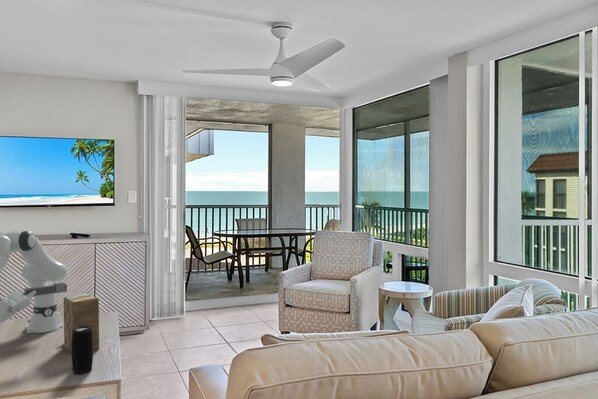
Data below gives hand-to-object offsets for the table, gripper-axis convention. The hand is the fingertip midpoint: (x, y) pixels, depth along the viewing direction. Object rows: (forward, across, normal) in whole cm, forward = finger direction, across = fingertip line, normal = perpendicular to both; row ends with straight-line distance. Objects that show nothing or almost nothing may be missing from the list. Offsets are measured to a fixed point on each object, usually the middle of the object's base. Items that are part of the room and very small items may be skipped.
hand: (34, 290), depth 225 cm
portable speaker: (-7, -35, +33) cm, 49 cm away
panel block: (+1, -4, +38) cm, 38 cm away
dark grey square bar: (+3, 0, +5) cm, 6 cm away
